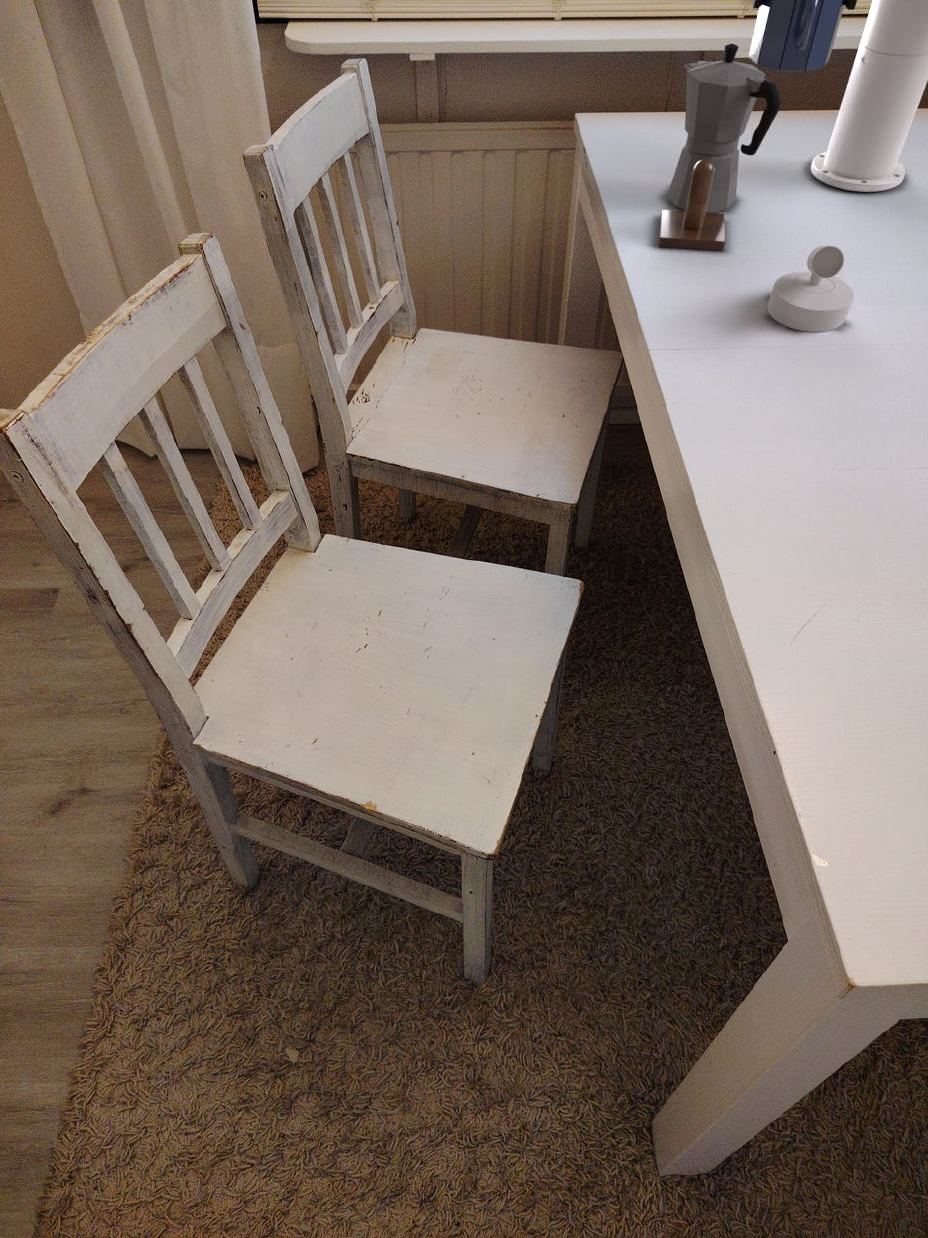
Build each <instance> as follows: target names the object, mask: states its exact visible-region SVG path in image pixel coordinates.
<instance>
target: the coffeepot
mask: <svg viewBox="0 0 928 1238" xmlns="http://www.w3.org/2000/svg"><path fill="white" fill-rule="evenodd" d="M739 48H740V46H739V45H737V44H735V43H727V44H726V45H724V55H723V60H716V61H707V60H698V61H695V60H693V61H691V62H689V63H684V68H685V69H686V71H687V73H686V93H685V95H686V97H685V99H686V100H685V117H684V118H685V120H684V130H685V132H686V133H687V135H686V140H685V145H684V146H683V147H682V149H681V152H680V155H679V157H678V161H677V164H676V168H675V170H674V173H673V176H672V180H671V182H670V184H669V188H668V191H667V194H666V197H667V198H668V200H669V201H670V203H671V204H672V205H673V206H674V207H676V208H678V209H680V210H682V211H685V210H686V204H687V199H688V194H689V188H690V183H691V178H692V173H693V168H694V166H695V164H696V163H697V162H698V161H700V160H702V159H708V160H710V161H711V162H712V163H713V164H714V167H715V172H714V177H713V182H712V186H711V191H710V196H709V201H708V206H707V210H706V212H707V213H721V212H723V211H725V210H728V209H729V208H730V207H731V206H732V205H733V203H734V202H735V200H737V199H736V198H737V184H738V174H739V173H738V171H739V158H740V152H741V153H742V154H743V155H746V156H750V157H751V156H754V155H756V153H757V152H758V150H759V148H760V146H761V144H762V143H763V140H764V139H765V137H766V136H767V133H768V131H769V129H770V128H771V126H772V124H773V122H774V121H775V119H776V116H777V115H778V114H779V112H780V109H781V106H782V97H781V94H780V90H779V87H778V84H777V83H776V82H775V81H772V80H768V79H766V78H765V76H766V73H764V72H763V71H761V70H760V69H758V68H757V67H756V66H754V65H753V64H749V63H744V62H739V61H734V60H735V58H736V56H737V52H738V50H739ZM757 99H763V100H765V103H766V107H765V108H764V110H763V112H762V113H761V117H760V120H759V123H758V125H757V126H756V128H755V129H754V131H753V132H752V137H751V141H750V143H749V145H748V144H744V143H741V145H740V150H739V148H738V146H739V141H740V137H742V135H743V134H744V133H745V131H746V128H747V126H748V123H749V120H750V117H751V114H752V112H753V109H754V107H755V103H756V101H757Z"/></svg>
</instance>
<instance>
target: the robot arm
mask: <svg viewBox="0 0 928 1238" xmlns="http://www.w3.org/2000/svg"><path fill="white" fill-rule="evenodd" d="M762 2H763V0H751V5H752V9H759V7H761V6H762ZM857 2H858V0H846V1H845V5H844V8H845V9H847V10H848V11H854V10H855V8H856V5H857ZM870 5H871V6H870V10H869V13H868V16H867V20H866V23H865V25H864V26H865V27H864V30H863V33H862V36H861V39H860V42H859V46H858V49H857V52H856V56H855V59H854V62H853V64H852V69H851V72H850V75H849V78H848V81H847V85H846V88H845V91H844V95H843V98H842V101H841V105H840V107H839V111H838V114H837V116H836V117H837V118H836V121H835V124H834V127H833V131H832V134H831V137H830V140H829V143H828V147H827V150H826V151H822V152H820V153H818V154H816V156H814V158H813V159H812V162H811V165H810V171H811V173H812V175H813V176H814V178H816V179H817V180H819V181H820V182H822V183H824V184H826V185H828V186H831V187H834V188H837V189H841V190H845V191H852V192H864V193H873V192H883V191H887V190H888V191H889V190H891V189H894V188H895V187H898V186H899V185H900V184H901V183H902V182H903V180H904V178H905V176H906V168H905V166H904V164H902V162H900V161H899V159H900V156H901V153H902V151H903V147H904V145H905V142H906V140H907V137H908V134H909V132H910V130H911V127H912V124H913V121H914V118H915V116H916V113H917V110H918V107H919V105H920V102H921V100H922V97H923V94H924V92H925V89H926V86H927V83H928V0H872V2H871V4H870Z"/></svg>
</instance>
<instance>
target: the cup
mask: <svg viewBox="0 0 928 1238" xmlns="http://www.w3.org/2000/svg"><path fill="white" fill-rule="evenodd" d="M845 1H846V0H763V2H762V6H761V7H759V8H758V12H757V17H756V21H755V27H754V31H753V35H752V38H751V39H752V40H751V45H750V49H749V54H748V58H749V59H750V60H751V61H752V62H753V63H754V64H755V65H757V66H759V67H763V68H766V69H770V70H775V71H781V72H807V71H811V70H816V69H820V68H824V67H825V66H826V65H827V64H828V62H829V61H830V58H831V55H832V51H833V48H834V45H835V41H836V37H837V33H838V31H839V30H838V29H839V26H840V23H841V19H842V16H843V12H844V8H845Z"/></svg>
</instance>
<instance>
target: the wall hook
mask: <svg viewBox="0 0 928 1238" xmlns="http://www.w3.org/2000/svg"><path fill="white" fill-rule="evenodd" d="M844 264H845V255H844V253H843V251H842V250H841V249H840V248H839V247H837V246H834V245H825V244H824V245H819V246H816V247H815V248H814V249H812V250H811V252H810V253H809V254H808V257H807V260H806V266H807V269H808V271H795V272H789V273H786V274H784V275H781V276H780V277H778V278H777V279H775V282H774V284H773V286H772V290H771V294H770V297H769V300H768V303H767V312H768V314H769V316H770V317H771V318H772V319H773V320H774V321H776V322H777V323H779V324H780V325H782V326H785V327H787V328H790V329H793V330H796V331H802V332H808V333H823V332H829V331H833V330H835V329H838V328H839V327H841V326H842V325H843V324H844V323H845V321H846V319H847V317H848V314H849V311H850V309H851V307H852V303H853V301H854V297H855V295H854V291H853V289H852V288H851V287H850V286H849V285H848V283H846V282H845V281H843V280H842V279H840V278H837V277H835V276H836V275H838V274H839V272H840V271H841V270H842V269H843V266H844Z"/></svg>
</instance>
